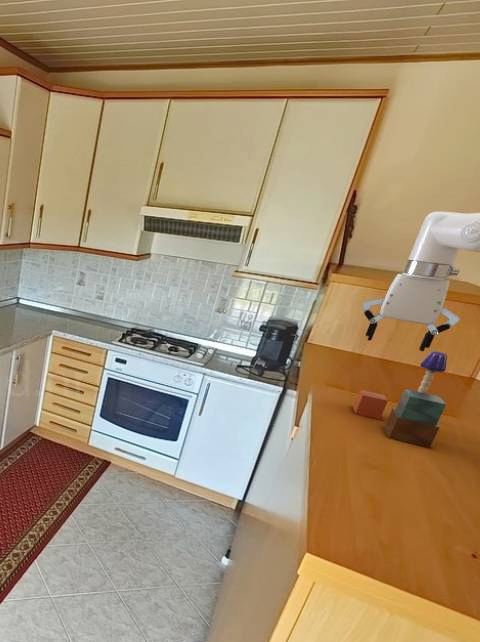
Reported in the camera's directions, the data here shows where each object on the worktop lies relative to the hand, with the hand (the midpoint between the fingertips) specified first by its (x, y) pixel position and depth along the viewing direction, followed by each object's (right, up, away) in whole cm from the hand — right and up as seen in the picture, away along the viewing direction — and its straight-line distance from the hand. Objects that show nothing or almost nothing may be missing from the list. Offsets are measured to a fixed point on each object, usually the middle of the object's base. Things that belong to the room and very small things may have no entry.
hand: (394, 344), depth 114 cm
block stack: (-2, -21, -5) cm, 22 cm away
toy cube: (-1, -17, +7) cm, 18 cm away
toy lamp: (+12, -17, +9) cm, 23 cm away
